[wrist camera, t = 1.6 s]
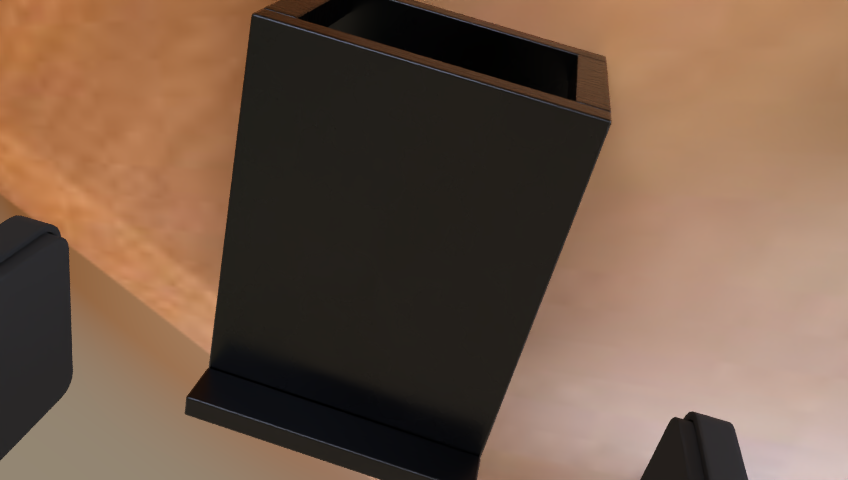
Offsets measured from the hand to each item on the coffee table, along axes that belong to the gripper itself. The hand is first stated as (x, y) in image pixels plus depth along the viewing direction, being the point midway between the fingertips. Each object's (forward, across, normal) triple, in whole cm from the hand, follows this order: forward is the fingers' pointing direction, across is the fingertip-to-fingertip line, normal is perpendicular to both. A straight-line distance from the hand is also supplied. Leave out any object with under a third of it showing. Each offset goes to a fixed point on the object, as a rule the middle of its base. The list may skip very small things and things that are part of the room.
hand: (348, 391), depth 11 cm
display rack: (+23, +2, +7) cm, 24 cm away
